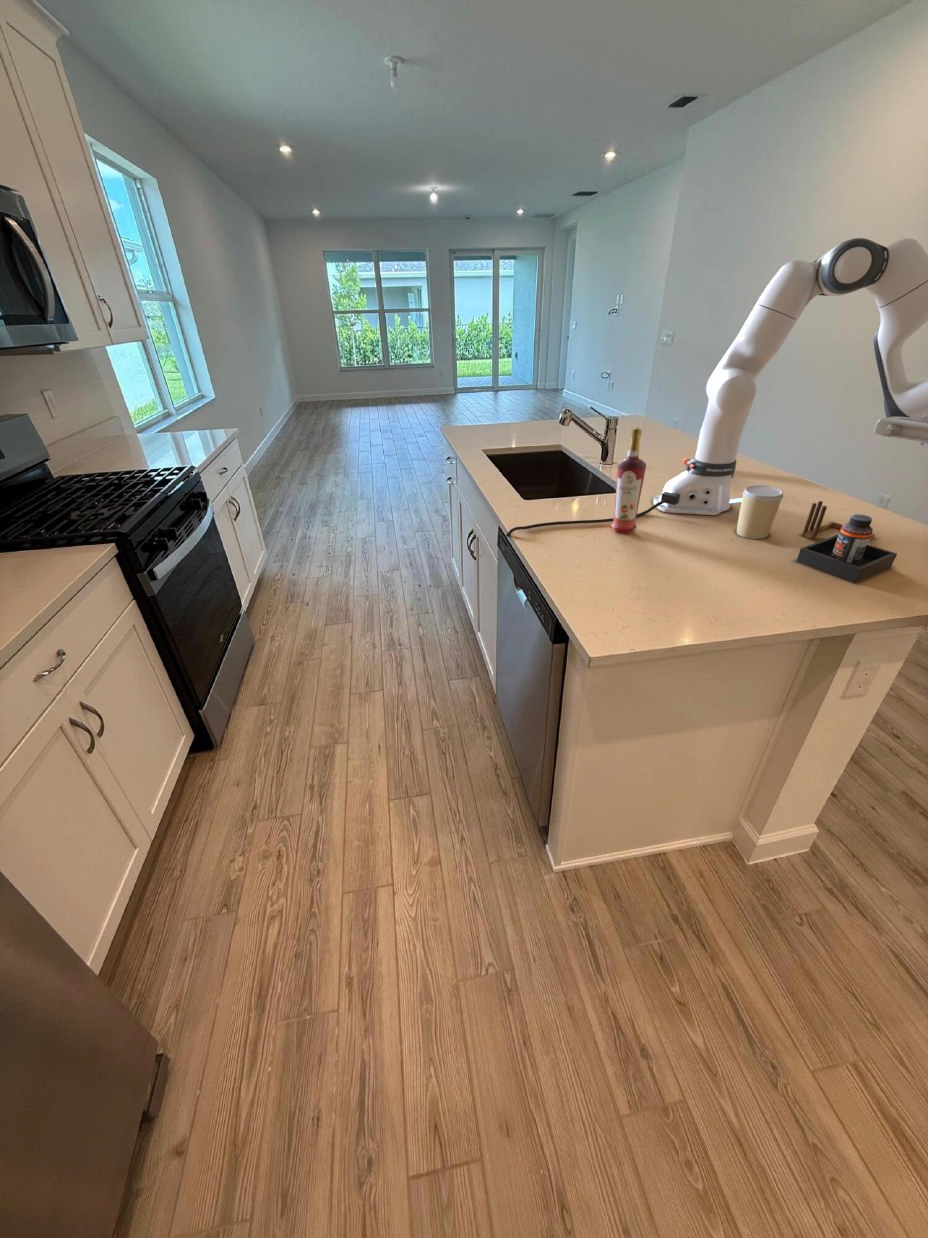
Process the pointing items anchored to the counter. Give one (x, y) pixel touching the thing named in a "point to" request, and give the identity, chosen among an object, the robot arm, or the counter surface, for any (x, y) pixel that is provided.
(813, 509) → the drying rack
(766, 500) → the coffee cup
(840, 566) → the tray
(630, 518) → the liquor
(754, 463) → the counter surface
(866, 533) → the supplement bottle
